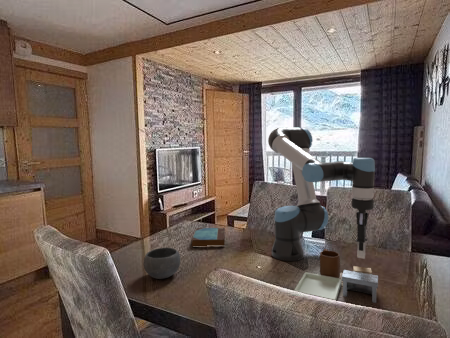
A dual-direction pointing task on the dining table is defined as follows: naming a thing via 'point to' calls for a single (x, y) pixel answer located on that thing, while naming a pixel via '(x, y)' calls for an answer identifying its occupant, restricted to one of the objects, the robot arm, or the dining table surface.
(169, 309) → the dining table surface
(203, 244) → the book
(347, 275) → the gray bench
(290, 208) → the robot arm
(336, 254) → the mug
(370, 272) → the block
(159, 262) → the bowl
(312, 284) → the tray
